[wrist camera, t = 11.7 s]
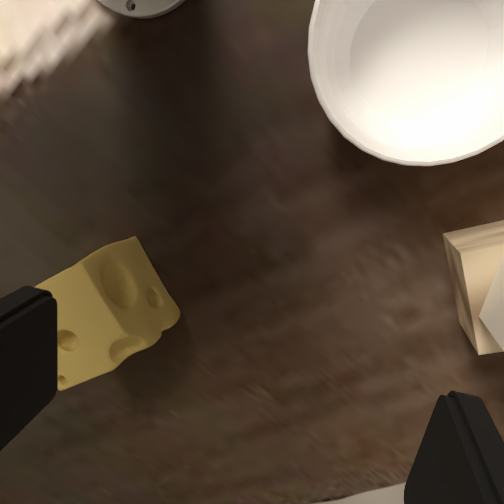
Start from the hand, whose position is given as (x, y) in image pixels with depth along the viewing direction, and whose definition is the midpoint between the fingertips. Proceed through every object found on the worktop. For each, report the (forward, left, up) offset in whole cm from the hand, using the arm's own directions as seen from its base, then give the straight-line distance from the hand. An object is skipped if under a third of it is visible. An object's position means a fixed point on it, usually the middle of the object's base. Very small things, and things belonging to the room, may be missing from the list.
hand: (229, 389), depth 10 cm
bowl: (-12, +6, -31) cm, 33 cm away
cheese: (+15, -18, -31) cm, 39 cm away
